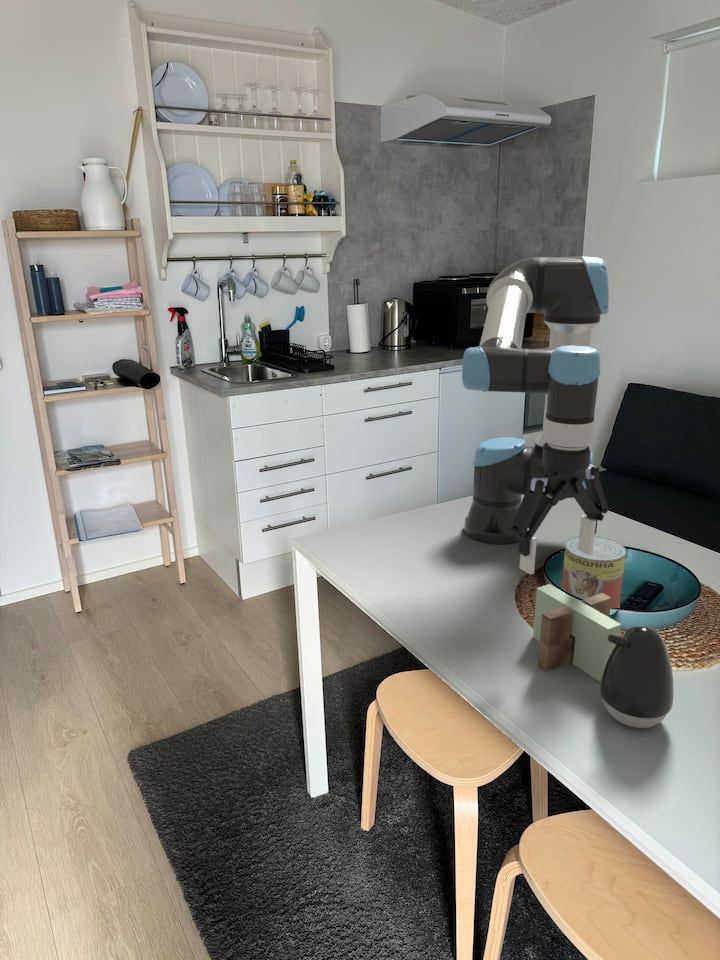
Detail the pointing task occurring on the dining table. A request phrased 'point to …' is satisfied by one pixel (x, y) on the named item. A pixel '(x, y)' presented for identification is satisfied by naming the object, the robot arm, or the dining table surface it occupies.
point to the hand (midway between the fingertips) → (556, 561)
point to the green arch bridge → (580, 629)
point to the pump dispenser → (638, 678)
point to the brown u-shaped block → (563, 633)
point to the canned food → (594, 569)
